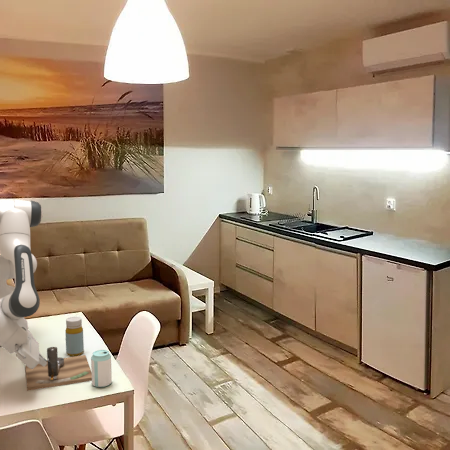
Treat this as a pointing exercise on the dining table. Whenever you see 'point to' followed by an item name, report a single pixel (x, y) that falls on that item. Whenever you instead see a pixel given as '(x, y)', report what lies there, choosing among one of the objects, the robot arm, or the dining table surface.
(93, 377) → the can
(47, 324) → the dining table surface
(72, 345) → the bottle
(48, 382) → the tuner board
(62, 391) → the dining table surface
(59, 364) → the peg lever
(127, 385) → the dining table surface
